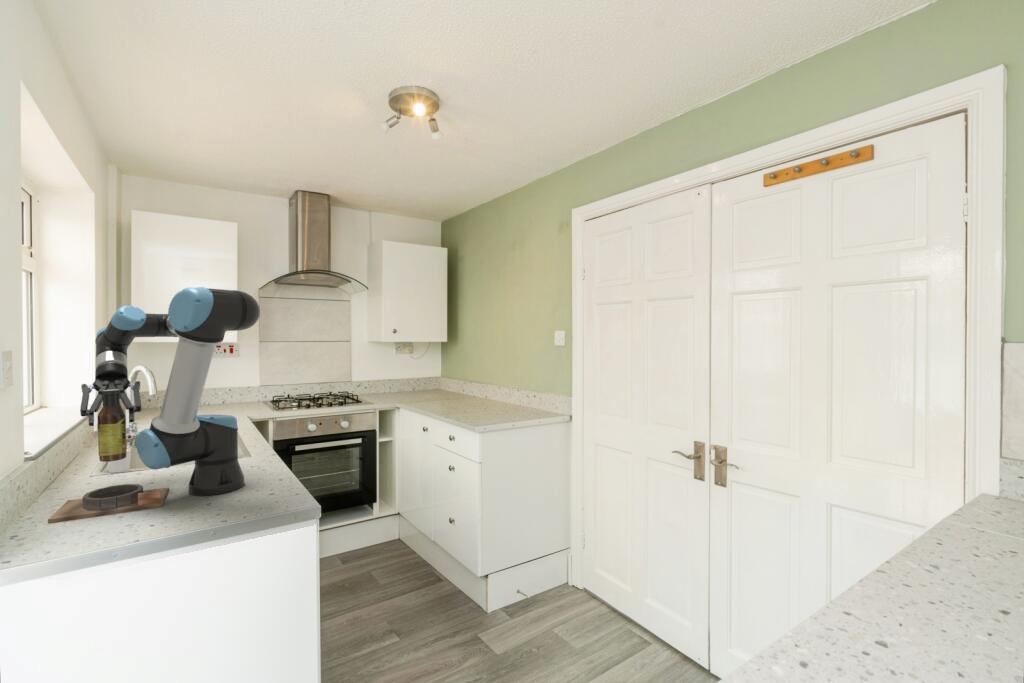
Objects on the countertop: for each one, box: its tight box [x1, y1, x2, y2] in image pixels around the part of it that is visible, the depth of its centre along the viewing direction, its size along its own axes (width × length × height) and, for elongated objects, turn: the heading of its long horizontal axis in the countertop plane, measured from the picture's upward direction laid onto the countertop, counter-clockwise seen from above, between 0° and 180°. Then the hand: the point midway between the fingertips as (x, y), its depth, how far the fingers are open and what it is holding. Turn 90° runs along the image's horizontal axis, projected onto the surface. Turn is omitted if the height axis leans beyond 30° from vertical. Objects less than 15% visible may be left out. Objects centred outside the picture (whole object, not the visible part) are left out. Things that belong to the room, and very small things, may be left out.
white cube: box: [107, 448, 132, 474], centre depth 173 cm, size 7×7×7 cm
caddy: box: [47, 483, 170, 524], centre depth 139 cm, size 24×16×4 cm, turn 119°
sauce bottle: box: [97, 389, 128, 463], centre depth 139 cm, size 6×6×20 cm
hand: (111, 432), depth 136 cm, fingers closed on sauce bottle, 6 cm apart
